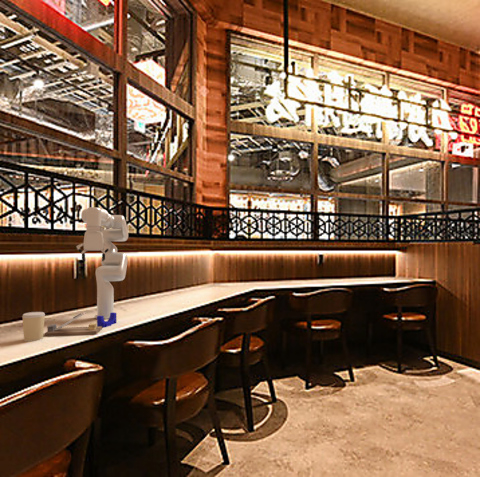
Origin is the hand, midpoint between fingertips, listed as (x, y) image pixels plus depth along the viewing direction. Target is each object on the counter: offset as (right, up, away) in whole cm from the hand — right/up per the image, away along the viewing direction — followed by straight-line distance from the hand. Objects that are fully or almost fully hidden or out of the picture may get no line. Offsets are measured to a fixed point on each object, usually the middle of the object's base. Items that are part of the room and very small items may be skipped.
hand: (93, 261), depth 201 cm
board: (-4, -35, -15) cm, 38 cm away
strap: (-5, -30, -15) cm, 34 cm away
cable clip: (+7, -36, +2) cm, 37 cm away
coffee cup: (-17, -35, -28) cm, 48 cm away
